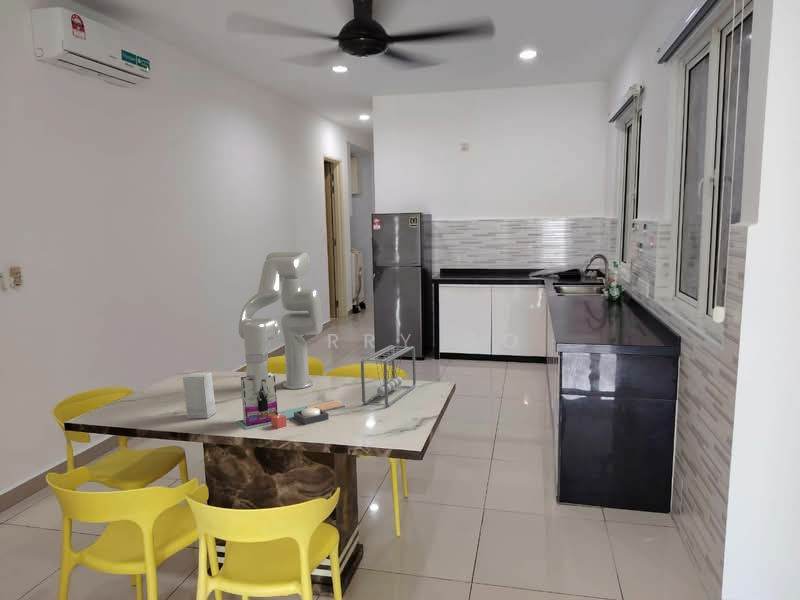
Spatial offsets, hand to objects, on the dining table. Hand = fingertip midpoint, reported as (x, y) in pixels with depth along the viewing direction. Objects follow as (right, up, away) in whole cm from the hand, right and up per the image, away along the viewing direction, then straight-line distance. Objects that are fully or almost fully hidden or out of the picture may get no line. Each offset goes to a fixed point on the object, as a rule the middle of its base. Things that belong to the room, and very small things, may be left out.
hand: (260, 408), depth 196 cm
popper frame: (+18, -4, +2) cm, 18 cm away
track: (+10, -3, +8) cm, 13 cm away
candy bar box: (0, -5, +1) cm, 5 cm away
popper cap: (+18, -3, +2) cm, 18 cm away
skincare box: (-23, -5, +9) cm, 25 cm away
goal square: (+21, -2, +15) cm, 25 cm away
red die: (+8, -5, -5) cm, 11 cm away
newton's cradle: (+45, 0, +26) cm, 52 cm away
